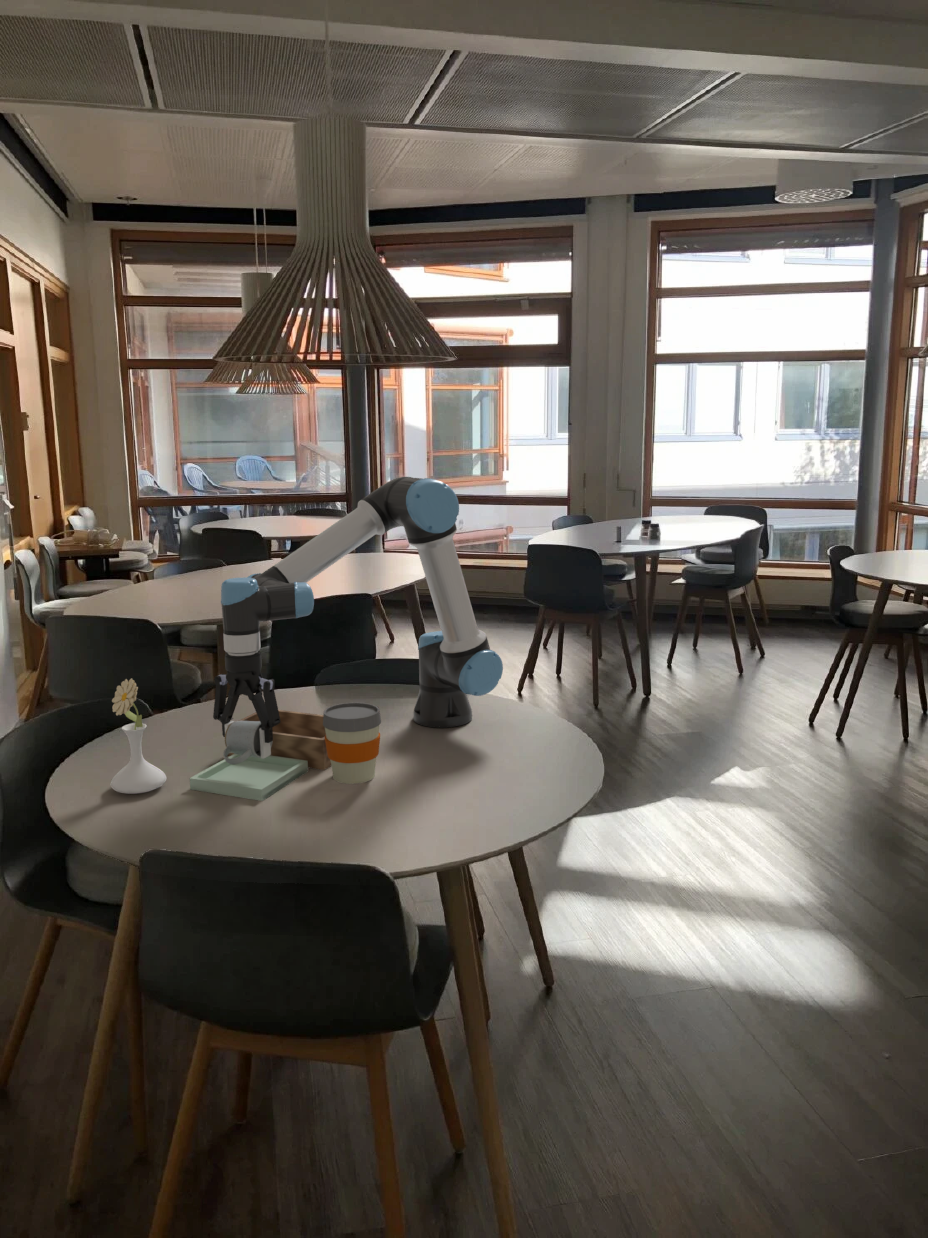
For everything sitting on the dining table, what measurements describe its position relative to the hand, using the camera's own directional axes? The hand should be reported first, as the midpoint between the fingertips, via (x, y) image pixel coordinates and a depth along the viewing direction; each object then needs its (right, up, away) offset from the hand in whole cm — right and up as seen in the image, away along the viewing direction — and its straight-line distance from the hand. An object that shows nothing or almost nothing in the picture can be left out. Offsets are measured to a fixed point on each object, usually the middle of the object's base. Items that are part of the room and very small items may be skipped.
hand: (248, 753), depth 211 cm
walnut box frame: (+6, -2, +19) cm, 20 cm away
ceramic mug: (0, -1, -1) cm, 1 cm away
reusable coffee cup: (+22, -5, +3) cm, 23 cm away
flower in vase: (-22, -7, -3) cm, 24 cm away
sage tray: (0, -6, +1) cm, 6 cm away
